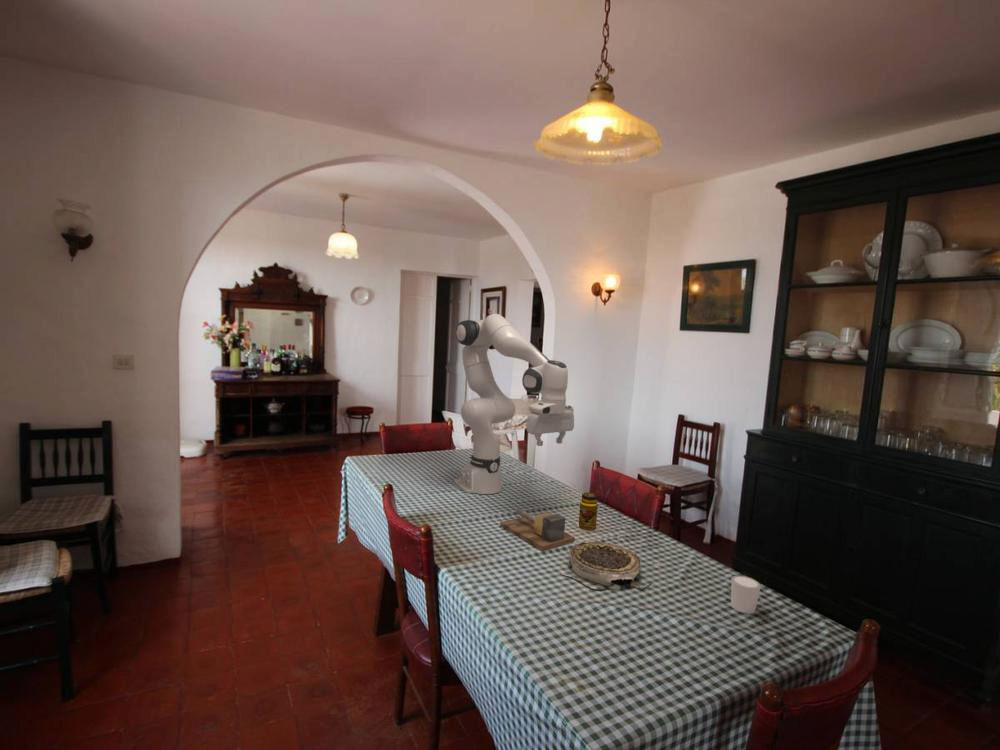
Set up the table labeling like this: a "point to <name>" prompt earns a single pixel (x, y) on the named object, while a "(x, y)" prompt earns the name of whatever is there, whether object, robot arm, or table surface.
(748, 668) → the table surface
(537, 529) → the nut
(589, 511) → the condiment
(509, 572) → the table surface
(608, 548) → the pie
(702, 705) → the table surface
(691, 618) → the table surface
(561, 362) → the robot arm
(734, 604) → the white cup
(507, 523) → the rod board
